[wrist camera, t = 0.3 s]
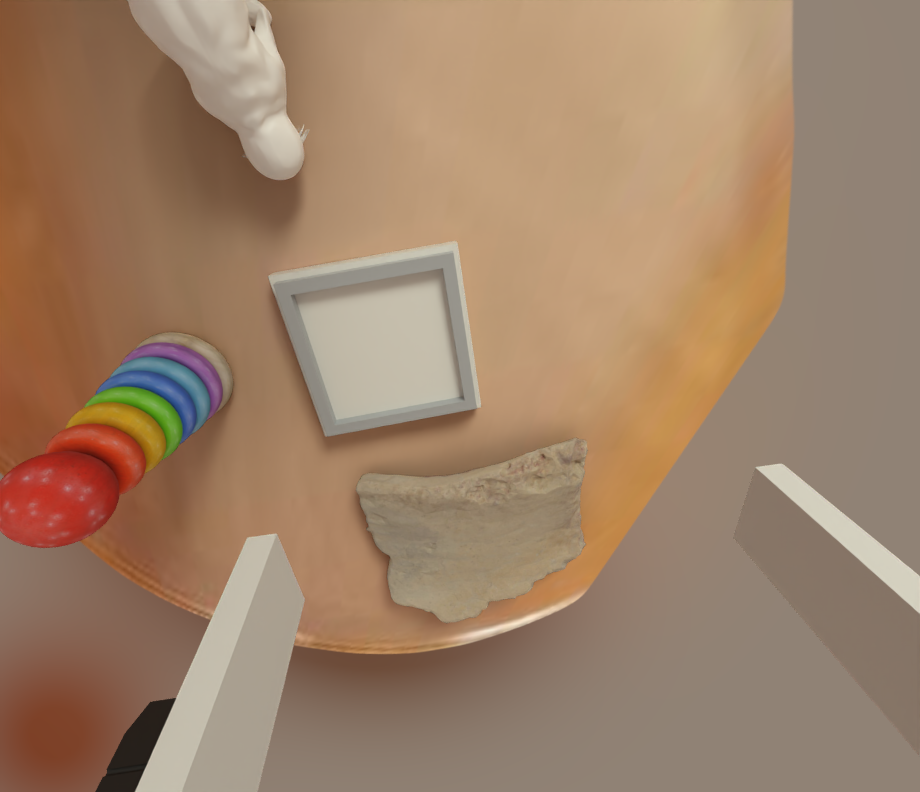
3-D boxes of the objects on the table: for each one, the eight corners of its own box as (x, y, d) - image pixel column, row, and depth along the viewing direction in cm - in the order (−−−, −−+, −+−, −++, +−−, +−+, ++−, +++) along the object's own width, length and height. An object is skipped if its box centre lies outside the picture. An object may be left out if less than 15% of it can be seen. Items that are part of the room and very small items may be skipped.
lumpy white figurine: (187, -131, 18) (321, 168, 25) (244, -58, 25) (336, 159, 32) (57, -74, 19) (223, 206, 25) (149, -18, 26) (259, 188, 32)
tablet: (578, 548, 55) (585, 425, 44) (599, 603, 48) (613, 475, 37) (391, 577, 54) (351, 460, 43) (388, 636, 48) (340, 517, 37)
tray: (273, 272, 34) (264, 279, 32) (455, 240, 35) (458, 244, 33) (327, 428, 41) (323, 442, 39) (478, 399, 42) (482, 412, 39)
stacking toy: (142, 406, 38) (-62, 580, 22) (132, 321, 35) (-117, 450, 18) (236, 417, 40) (114, 588, 23) (236, 337, 36) (93, 470, 20)
